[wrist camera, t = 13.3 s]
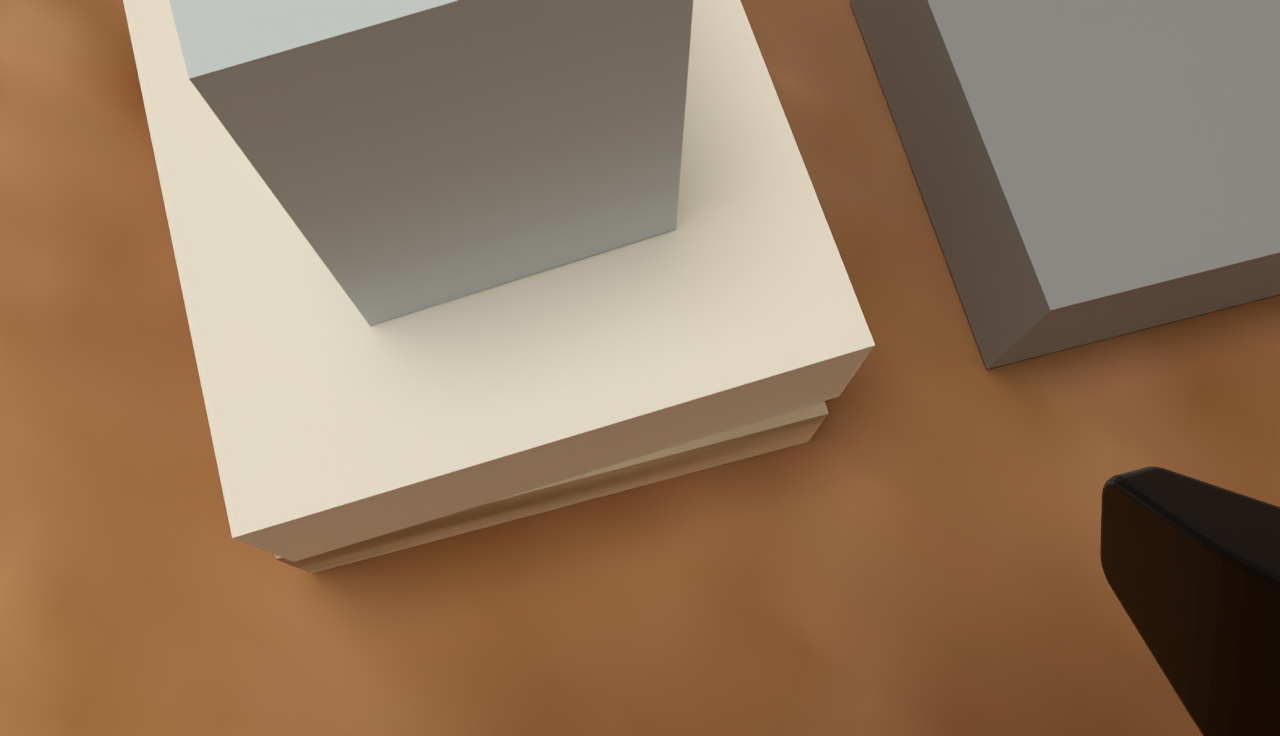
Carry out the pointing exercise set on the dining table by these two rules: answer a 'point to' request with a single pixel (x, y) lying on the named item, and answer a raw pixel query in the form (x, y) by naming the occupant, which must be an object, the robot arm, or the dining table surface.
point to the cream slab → (497, 322)
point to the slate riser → (1089, 157)
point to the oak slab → (591, 485)
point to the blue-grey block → (451, 130)
